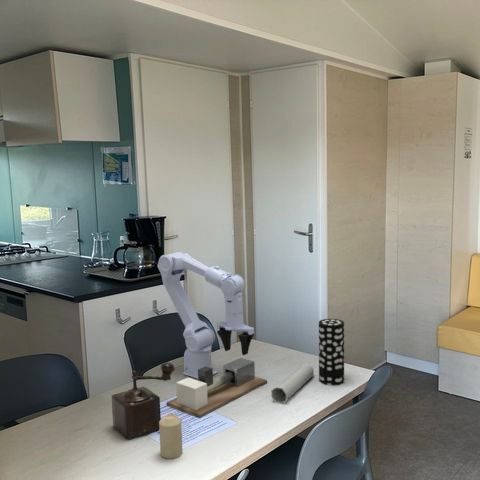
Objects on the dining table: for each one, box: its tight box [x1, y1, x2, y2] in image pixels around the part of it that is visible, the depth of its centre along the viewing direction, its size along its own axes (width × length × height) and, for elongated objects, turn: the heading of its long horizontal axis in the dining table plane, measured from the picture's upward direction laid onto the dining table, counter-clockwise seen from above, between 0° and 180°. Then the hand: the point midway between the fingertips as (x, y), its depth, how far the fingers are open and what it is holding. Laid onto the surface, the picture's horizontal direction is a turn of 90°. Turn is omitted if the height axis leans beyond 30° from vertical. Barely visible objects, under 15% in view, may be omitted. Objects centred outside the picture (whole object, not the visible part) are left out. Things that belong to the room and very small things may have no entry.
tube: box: [270, 363, 315, 405], centre depth 178 cm, size 5×5×25 cm
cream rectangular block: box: [175, 377, 208, 410], centre depth 165 cm, size 8×5×6 cm, turn 50°
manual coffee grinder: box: [111, 362, 176, 441], centre depth 154 cm, size 16×11×18 cm
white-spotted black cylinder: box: [318, 318, 345, 386], centre depth 182 cm, size 8×8×20 cm
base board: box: [166, 376, 268, 419], centre depth 175 cm, size 14×32×1 cm, turn 140°
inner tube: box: [197, 366, 235, 392], centre depth 172 cm, size 3×19×8 cm, turn 140°
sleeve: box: [222, 357, 256, 387], centre depth 182 cm, size 6×9×6 cm, turn 140°
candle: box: [158, 412, 183, 460], centre depth 139 cm, size 6×6×10 cm
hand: (236, 352), depth 183 cm, fingers open, 7 cm apart
